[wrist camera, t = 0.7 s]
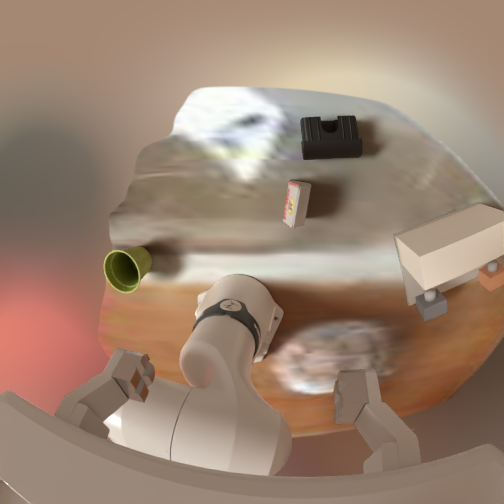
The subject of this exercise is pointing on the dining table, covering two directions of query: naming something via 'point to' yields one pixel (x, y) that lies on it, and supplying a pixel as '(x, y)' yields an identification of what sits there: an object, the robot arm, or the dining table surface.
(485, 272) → the orange thick block
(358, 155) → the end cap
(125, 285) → the plant pot
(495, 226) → the plug console
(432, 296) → the grey plug
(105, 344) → the dining table surface
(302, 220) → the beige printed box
